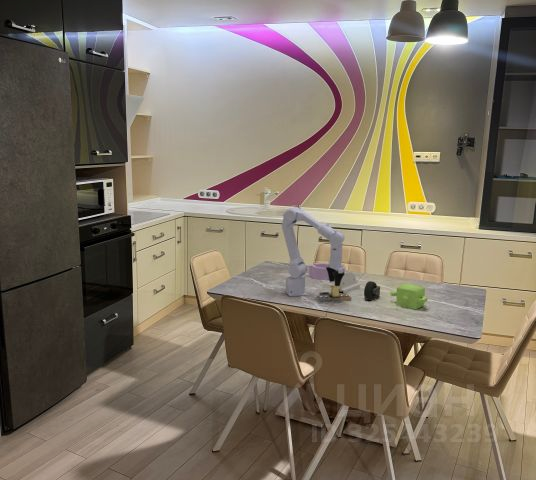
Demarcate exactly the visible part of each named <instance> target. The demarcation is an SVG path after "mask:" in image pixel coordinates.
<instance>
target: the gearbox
mask: <svg viewBox="0 0 536 480" xmlns="http://www.w3.org/2000/svg"><path fill="white" fill-rule="evenodd" d="M425 291H426V287H423V286H420V285H416V284H412V283H411V284H410V283H402V284H400V285H399V286H397V287H396V291H390V297H396V301H395V302H396V303H395V304H396V306H399V307H403V308H407V309H412V310H418V309H420V308H422V307H423V306H425V303H427V302H428V296H425V293H426V292H425Z"/></svg>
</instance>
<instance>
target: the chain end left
mask: <svg viewBox="0 0 536 480" xmlns="http://www.w3.org/2000/svg"><path fill="white" fill-rule="evenodd" d="M317 299H318V300H317ZM316 300H317V301H319V303H330V302H329V301H339V302H342V301H341V298H330V297H329V296H328V295H319V294H318V295H316Z"/></svg>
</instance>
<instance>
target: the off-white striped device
mask: <svg viewBox="0 0 536 480" xmlns="http://www.w3.org/2000/svg"><path fill="white" fill-rule="evenodd" d="M333 283H335V281H334V282H333ZM339 287H340V289H339V293H341V292H343V293H342V294H348V293H350V292H353V291H356V290H358V289H361V285H360V283H358V281H357V277H356V275H355V273H354V272H345V274H344V276H343V277H342V280H341V283H340V286H339Z"/></svg>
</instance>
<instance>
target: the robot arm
mask: <svg viewBox="0 0 536 480" xmlns="http://www.w3.org/2000/svg"><path fill="white" fill-rule="evenodd" d="M282 217H283V218H282V222H281V229H282V233H283V237H284V240H285V244H286V247H287V252H288V257H289V260H290V261H289V264H288V266H289V269H288V270H289V272H288V273H289V275H290V276H288V277H287V276H286V281H285V291H284V292H285V293H286V294H287V295H288V296H289V297H298V296H308V293H306V291H305V289H306V288H305V287H306V273H307V272H308V265H307V264H306V263H305V261H304V259H303V258H302V257H301V253H300V250H299V246H298V242H297V238H296V235H295V230H294V226H295V225H296V224H297V222H305V223H306V224H308V225H310V226H312V227H313V228H314V229H316V231H317V233H318V234H319V235H321V236H322V237H324V238H325V240H326V239H327V240H328V241H329V243H330V250H329V251H330V252H329V262H328V263H327V264H328V266H329V267H326V269H327V272H328V276H329V280H328V281H329V282H330V283H334V285H335V286H340V283H341V280H342V277H343V276H344V274H345V273H346V272H345V273H344V272H343V269H342V267H344V265H343V263H342V262H343V261H342V260H343V244H344V243H343V242H344V241H345V235H344V233H343V232H342V231H338V229H334V228H333V227H331V226H330V224H329V223H324V222H323V223H321V222H320V221H318V220H317V219H316V218H315V217H313V216H312V215H310V214H309V213H308V212H307V211H305V210H304V209H302V208H300V207H299V206H298V207H297V206H296V207H292V208H287V209H286V210H285V212H284V213H283V215H282ZM344 268H345V267H344ZM336 271H337V272H336ZM334 281H335V282H334Z"/></svg>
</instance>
